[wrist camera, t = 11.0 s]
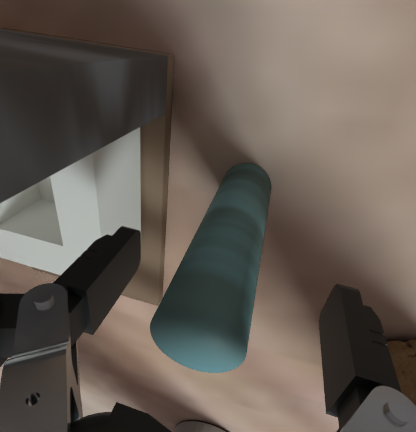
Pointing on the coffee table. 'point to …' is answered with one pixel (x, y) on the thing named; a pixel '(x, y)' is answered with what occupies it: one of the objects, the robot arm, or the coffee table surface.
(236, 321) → the dowel
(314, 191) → the coffee table surface
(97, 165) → the socket
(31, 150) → the jig
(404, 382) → the brown rounded block
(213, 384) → the coffee table surface
